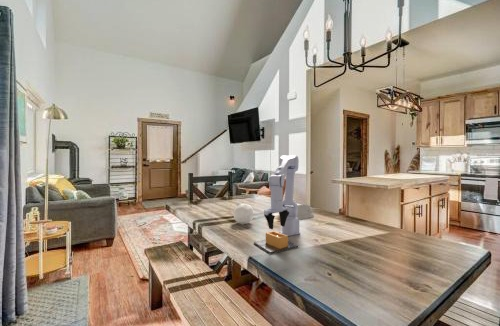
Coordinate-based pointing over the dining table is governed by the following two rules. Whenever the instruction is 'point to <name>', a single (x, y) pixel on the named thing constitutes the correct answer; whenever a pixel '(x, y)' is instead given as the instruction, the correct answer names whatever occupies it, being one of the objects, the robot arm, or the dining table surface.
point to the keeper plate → (272, 249)
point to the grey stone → (304, 212)
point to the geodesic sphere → (243, 213)
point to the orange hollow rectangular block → (277, 239)
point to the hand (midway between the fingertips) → (276, 227)
